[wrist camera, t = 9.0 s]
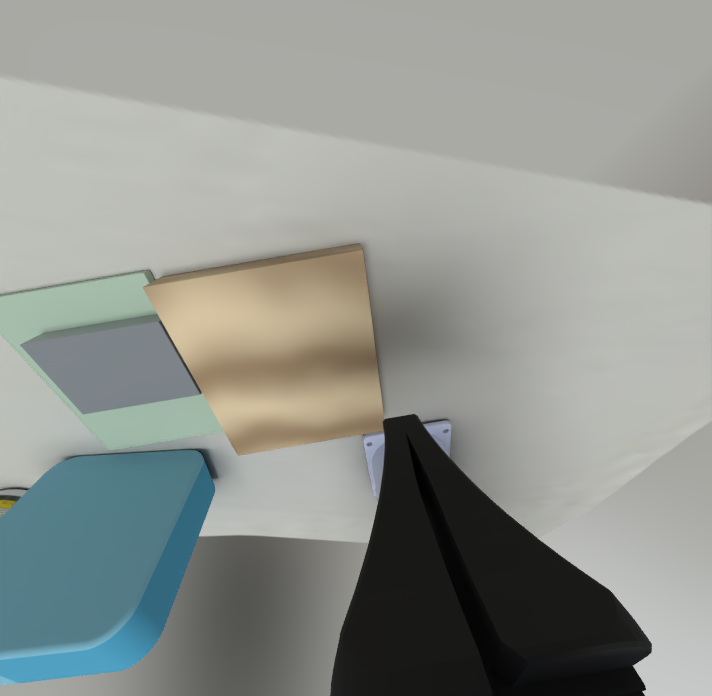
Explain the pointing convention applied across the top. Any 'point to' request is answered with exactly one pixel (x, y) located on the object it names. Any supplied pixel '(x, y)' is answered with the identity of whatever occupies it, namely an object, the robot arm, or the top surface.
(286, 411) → the oak board
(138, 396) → the slate tile
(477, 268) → the top surface
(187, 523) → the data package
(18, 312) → the green mat
